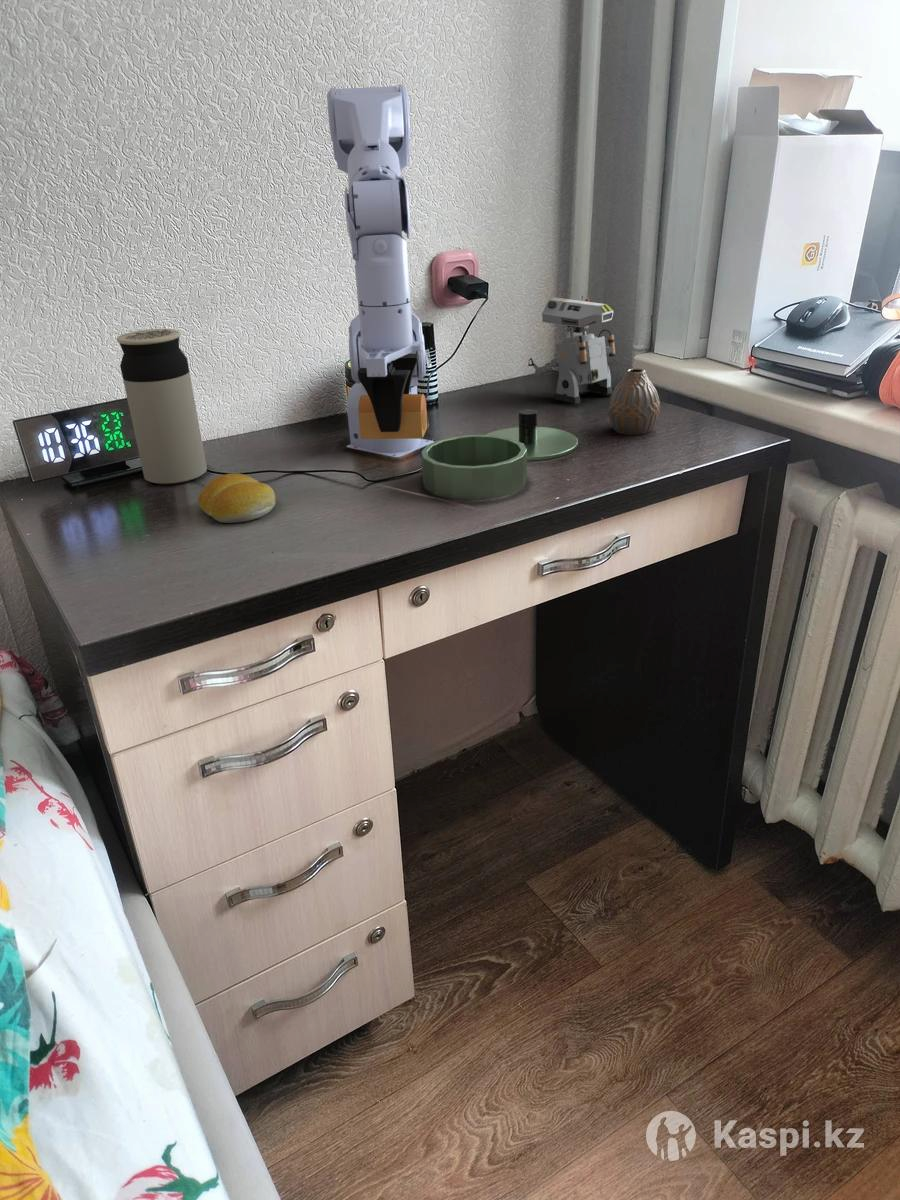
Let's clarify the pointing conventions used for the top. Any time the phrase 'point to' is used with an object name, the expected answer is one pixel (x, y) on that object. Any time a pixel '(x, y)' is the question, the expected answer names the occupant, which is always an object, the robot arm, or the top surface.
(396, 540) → the top surface
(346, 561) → the top surface
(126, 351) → the travel mug
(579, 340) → the figurine
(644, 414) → the vase
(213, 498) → the bread roll
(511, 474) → the pot
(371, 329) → the robot arm
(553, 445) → the lid
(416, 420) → the loaf
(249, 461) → the top surface
